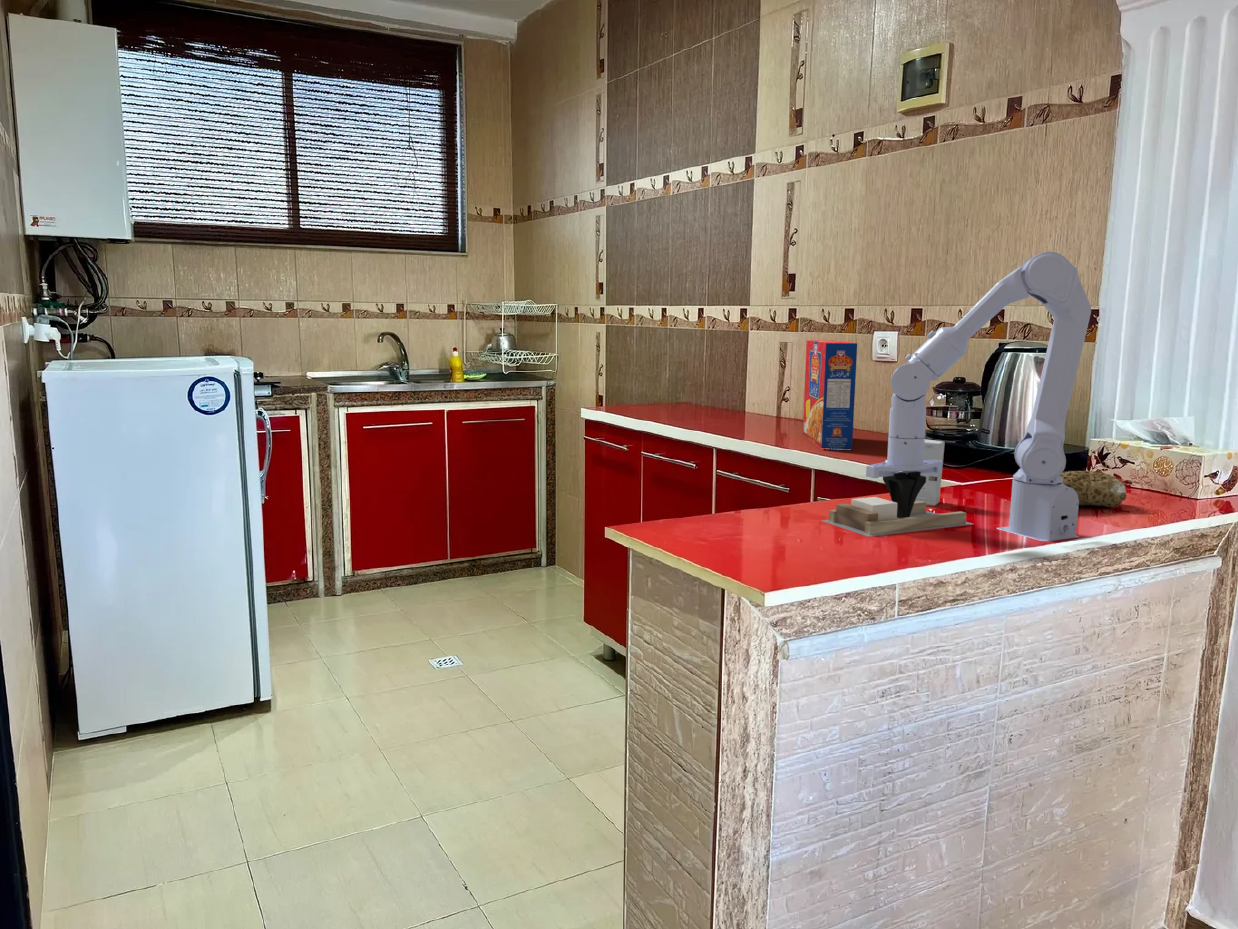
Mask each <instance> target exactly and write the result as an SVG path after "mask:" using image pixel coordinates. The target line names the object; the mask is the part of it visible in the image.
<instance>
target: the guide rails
mask: <svg viewBox="0 0 1238 929" xmlns="http://www.w3.org/2000/svg"><path fill="white" fill-rule="evenodd" d="M926 503H927V502H923V501H917V502H914V505H913V508H912V511H911V514H916V513H925V512H926V511H927V505H926ZM828 520H829V521H830V522H837V523H840V524H843V525H846V526H849V527H852V528H855V529H858V530H861V531H864V532H865V533H866V534H869V535H872V534H880V533H889V532H897V531H906V530H914V529H923V528H931V527H940V526H949V525H957V524H966V522H967V512H964V511H953V512H946V513H945V512H944V513H936V514H933V515H924V516H915V517H906V518H897V519H888V520H878V513H876V512H873V511H869V510H866V509H863V508H859V507H856V506H853V505H851V504H849V503H838V504H836V506H835V509H830V510H828Z"/></svg>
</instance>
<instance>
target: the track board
mask: <svg viewBox="0 0 1238 929" xmlns="http://www.w3.org/2000/svg"><path fill="white" fill-rule="evenodd" d="M933 514H937V513H935V512H932V511H928V510H926V512H925V513H916V514H910V517H915V516H924V515H933ZM897 518H898V517H897ZM820 521H821V522H823V523H827V524H830V525H833V526H834V527H838V528H841V529H843V530H847V531H850V532H852V533H856V534H859V535H862V536H865V537H867V538H870V537H877V536H885V535H895V534H902V533H903V534H904V533H910V532H911V533H912V532H919V531H927V530H929V531H930V530H937V529H944V528H953V527H963V526H970V525H973V522H972V523H971V522H968V521H966V524H957V525H949V526H940V527H931V528H923V529H914V530H906V531H897V532H889V533H880V534H872V535H869V534H866V533H865V532H864V531H861V530H858V529H855V528H852V527H849V526H846V525H843V524H840V523H837V522H830V521H829V519H821V520H820Z"/></svg>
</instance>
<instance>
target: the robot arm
mask: <svg viewBox="0 0 1238 929" xmlns="http://www.w3.org/2000/svg"><path fill="white" fill-rule="evenodd" d="M1030 296H1031V297H1032V298H1034V299H1035V300H1038V302H1040V303H1041V304H1042V306H1044V307H1045V309H1046V311H1048V313H1050V315H1051V316H1052V317H1053V323H1052V327H1051V331H1050V335H1049V339H1048V345H1047V348H1046V354H1045V357H1044V362H1043V366H1042V369H1041V370H1042V371H1041V374H1040V379H1039V384H1038V388H1037V391H1036V397H1035V401H1034V404H1033V405H1034V406H1033V409H1032V414H1031V416H1030V417H1031V418H1030V420H1028V421H1029V422H1028V424H1027V426H1026V429H1025V430H1026V431H1025V433H1024V436H1023V438H1021V440H1020V441H1019V442H1018V444H1017V445H1016V447H1015V449H1014V459H1015V463H1016V464H1017V466H1019V469H1018V470H1017V471H1016V472H1015V473H1014V474H1013V475H1012V484H1011V485H1012V486H1011V497H1010V509H1009V511H1010V512H1009V521H1008V526H1002V527H996V529H997V530H1001V531H1004V532H1007V533H1011V534H1013V535H1014V534H1015V535H1018V536H1022V537H1026V538H1030V539H1033V540H1037V541H1041V542H1053V541H1059V540H1067V539H1075V538H1079V537H1080V536H1079V535H1077V527H1078V516H1079V506H1080V505H1079V498H1078V495H1077V492H1076V491H1075V490H1074V489H1072V488H1070V487H1067V486H1065V485H1064V484H1063V478H1062V477H1061V476H1060V475H1061V474H1062V472H1065V469H1066V464H1067V458H1066V455H1065V452H1064V444H1065V439H1066V431H1065V429H1066V428H1065V426H1066V425H1065V424H1066V420H1067V415H1068V411H1069V406H1070V403H1071V397H1072V393H1073V390H1074V386H1075V381H1076V378H1077V373H1078V368H1079V366H1080V360H1081V356H1082V351H1083V348H1084V343H1085V340H1086V336H1087V335H1086V334H1087V331H1088V326H1089V323H1090V318H1091V315H1092V306H1091V302H1090V300H1089V298H1088V296H1087V293H1086V291H1085V289H1084V286H1083V285H1082V282H1081V280H1080V276H1079V271H1078V269H1077V267H1076V266H1075V265H1074V264H1073V263H1072V262H1071V261H1070V260H1068V258H1066V257H1065V255H1063V254H1062V253H1059V252H1057V251H1045V252H1044V251H1043V252H1040V253H1038V254H1035V255H1034V256H1032V257H1030V258H1028V259H1026V260H1025V261H1024V262H1023V264H1022V265H1021V266H1020V267H1017V268H1016V269H1014V270H1013V271H1011V272H1009V273H1008V274H1007V275H1005V277H1003V278H1002V279H1000V280H999V281H997V282H996V283H995V284H994V285H993V286H992V287H991V288H990V289H989V290H988V291H987V292H986V293H985V294H984V295H983V296H982V297H981V298H980V299H979V300H978V302H977V303H976V304H974V305H973V306H972V307H971V309H970V310H968V311H967V312H966V314H964V316H962V317H961V319H960V320H959V321H957V322H956V324H955V325H954V326H943V327H939V328H938V329H937V330H936V331H935V330H933V329H932V330H931V331H930V332H929V333H928V334H927V335H926V336H927V338H928V339H927V340H926V341H925V342H924V343H923V344H922V345H921V346H920V347H919V348H917V350H915V351H914V352H913V353H912V354H910V353H908V354H907V355H906V356H905V361H907V363H903V364H902V365H899V366H898V367H897V368H896V369H895V370H894V372H893V374H892V376H891V379H890V385H891V386H890V387H891V389H892V391H893V393H892V396H891V398H890V404H891V407H890V408H889V419H888V421H889V423H888V440H887V455H886V456H887V459H885V460H884V462H883V461H882V462H880V463H879V462H878V463H873V464H867V465H866V467H865V468H866V470H865V477H867V478H870V479H879V478H882V480H883V483H884V484H885V487H886V488H887V491H888V494H889V495H890V501H892V502H896V503H898V504H897V517H898V518H906V517H910V514H911V511H912V508H913V505H914V502H915V500H916V497H917V495H918V493H919V492H920V490H921V488H922V487H923V486H924V484H925V483H926V477H925V476H921V475H920V474H921V473H931V472H936V473H941V472H942V473H943V466H942V463H944V460H943V461H938V460H923V459H924V443H925V438H926V423H927V422H926V421H927V420H926V419H927V409H926V394H927V393H928V392H929V388H930V385H931V381H937V380H939V379H940V378H941V377H942V376H943V375H944V374H945V373H947V371H949V370H950V369H951V368H952V367H953V366H954V365H955V364H957V363H958V362H959V360H960V359H961V358H962V357H963V356H964V355H966V354H967V352H968V340H969V339H971V338H972V337H973V336H974V335H975V334H976V333H977V332H979V331H980V330H981V329H982V328H983V327H984V326H985V325H986V324H987V323H988V322H990V320H992V319H993V318H994V317H995V316H997V314H999V313H1000V312H1001V311H1002V310H1003V309H1004V308H1005V307H1006V306H1008V305H1010V304H1012V303H1015V302H1018V301H1022V300H1024V299H1027V298H1030Z"/></svg>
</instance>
